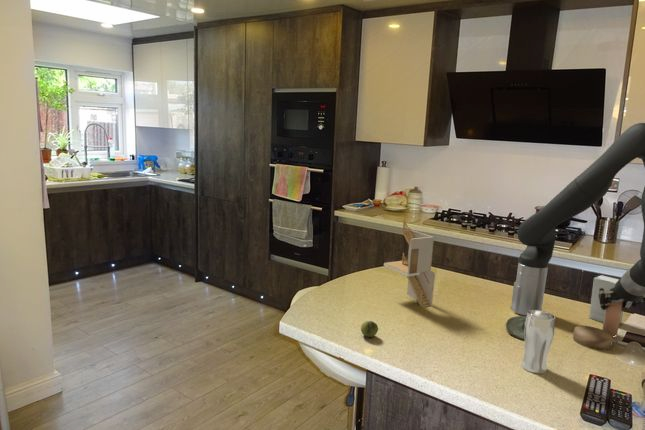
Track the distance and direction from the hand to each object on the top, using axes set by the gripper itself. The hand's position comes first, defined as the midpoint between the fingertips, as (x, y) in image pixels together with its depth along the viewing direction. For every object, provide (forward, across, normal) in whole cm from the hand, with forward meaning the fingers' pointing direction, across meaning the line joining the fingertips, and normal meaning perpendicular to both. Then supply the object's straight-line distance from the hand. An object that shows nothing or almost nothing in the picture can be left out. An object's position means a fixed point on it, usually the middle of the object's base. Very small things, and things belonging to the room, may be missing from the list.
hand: (611, 307), depth 145 cm
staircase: (+11, +63, +1) cm, 64 cm away
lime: (-12, +74, +24) cm, 79 cm away
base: (-1, +8, +13) cm, 15 cm away
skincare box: (+13, -3, -1) cm, 13 cm away
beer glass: (-17, +30, +28) cm, 45 cm away
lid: (-1, +28, +13) cm, 31 cm away
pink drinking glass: (+4, 0, +7) cm, 8 cm away
